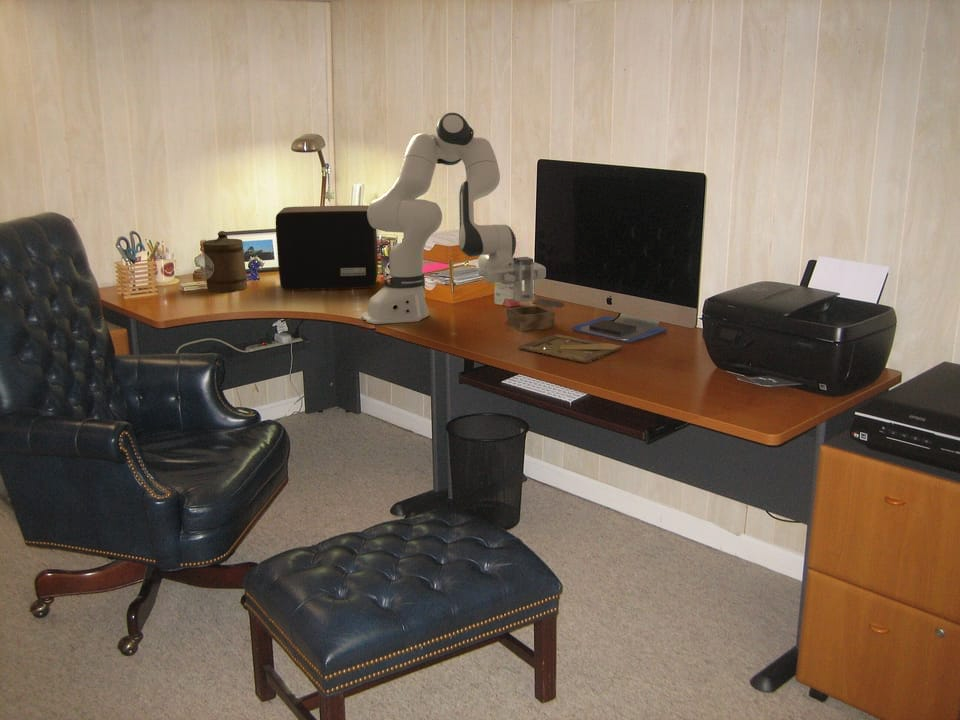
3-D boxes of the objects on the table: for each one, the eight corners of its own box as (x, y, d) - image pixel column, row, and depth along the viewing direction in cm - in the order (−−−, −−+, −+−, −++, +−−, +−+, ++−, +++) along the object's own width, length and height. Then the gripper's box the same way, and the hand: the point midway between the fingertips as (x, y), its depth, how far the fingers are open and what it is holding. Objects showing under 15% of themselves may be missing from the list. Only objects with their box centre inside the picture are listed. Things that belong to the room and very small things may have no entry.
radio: (378, 280, 374) (375, 204, 366) (376, 290, 357) (373, 210, 349) (286, 282, 372) (281, 206, 363) (280, 292, 355) (274, 212, 346)
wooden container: (209, 285, 369) (203, 229, 362) (248, 283, 371) (243, 227, 365) (205, 293, 355) (199, 235, 348) (246, 291, 357) (241, 233, 351)
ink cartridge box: (520, 305, 330) (521, 263, 326) (510, 307, 327) (510, 265, 323) (504, 301, 337) (504, 260, 332) (493, 303, 333) (493, 262, 329)
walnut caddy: (522, 331, 296) (522, 316, 295) (506, 323, 306) (506, 308, 305) (554, 327, 300) (554, 312, 299) (538, 319, 310) (538, 304, 309)
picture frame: (621, 351, 276) (555, 338, 291) (621, 345, 275) (555, 332, 290) (585, 366, 262) (518, 351, 277) (585, 360, 262) (518, 345, 277)
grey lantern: (519, 301, 291) (519, 260, 288) (512, 298, 295) (513, 257, 292) (533, 300, 293) (533, 259, 289) (526, 297, 297) (527, 256, 294)
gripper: (476, 262, 299) (493, 270, 287) (534, 258, 307) (553, 265, 294) (476, 282, 301) (493, 290, 289) (534, 277, 308) (553, 285, 296)
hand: (524, 278), depth 292 cm, fingers closed on grey lantern, 5 cm apart
